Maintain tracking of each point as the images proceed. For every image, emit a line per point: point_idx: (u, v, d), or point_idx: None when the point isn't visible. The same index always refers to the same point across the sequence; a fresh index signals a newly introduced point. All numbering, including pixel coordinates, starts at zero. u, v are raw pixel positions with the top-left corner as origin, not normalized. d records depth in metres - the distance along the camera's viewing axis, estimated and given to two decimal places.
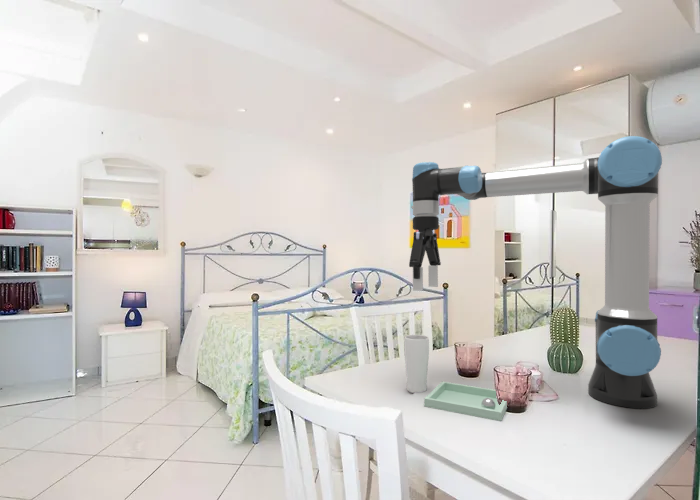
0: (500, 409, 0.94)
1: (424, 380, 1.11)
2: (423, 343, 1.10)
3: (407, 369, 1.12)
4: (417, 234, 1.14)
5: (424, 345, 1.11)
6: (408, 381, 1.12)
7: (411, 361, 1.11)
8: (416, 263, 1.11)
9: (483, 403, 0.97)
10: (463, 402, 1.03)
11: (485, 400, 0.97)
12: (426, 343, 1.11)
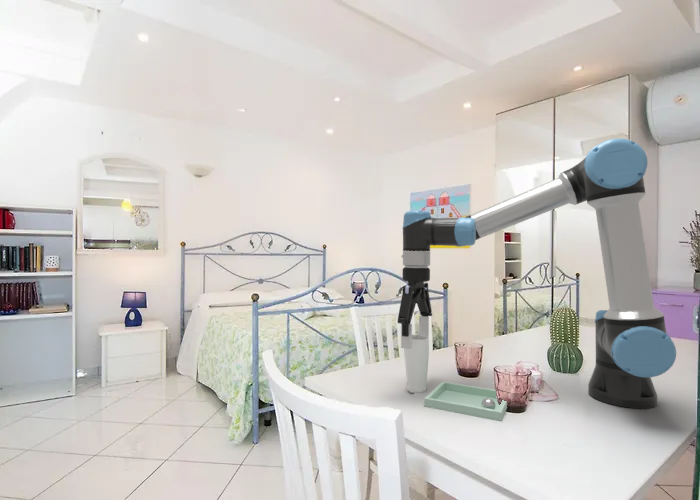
0: (500, 409, 0.94)
1: (424, 380, 1.11)
2: (423, 343, 1.10)
3: (407, 369, 1.12)
4: (406, 288, 1.07)
5: (424, 345, 1.11)
6: (408, 381, 1.12)
7: (411, 361, 1.11)
8: (405, 321, 1.04)
9: (483, 403, 0.97)
10: (463, 402, 1.03)
11: (485, 400, 0.97)
12: (426, 343, 1.11)
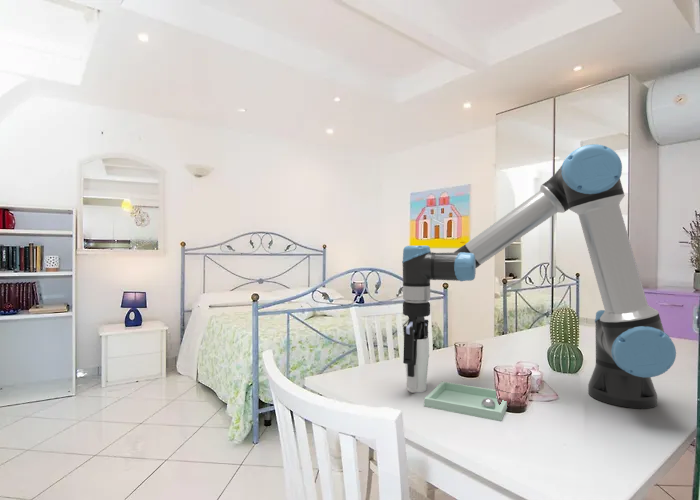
0: (500, 409, 0.94)
1: (424, 380, 1.11)
2: (423, 343, 1.10)
3: None
4: (407, 330, 1.08)
5: (424, 345, 1.11)
6: None
7: None
8: (410, 362, 1.07)
9: (483, 403, 0.97)
10: (463, 402, 1.03)
11: (485, 400, 0.97)
12: (426, 343, 1.11)
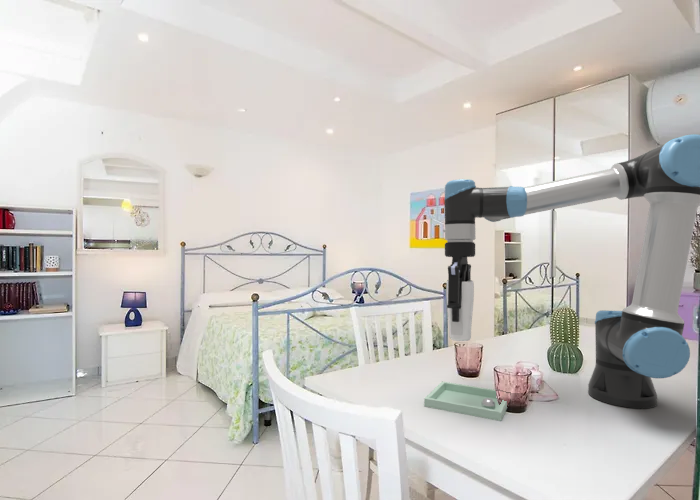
0: (500, 409, 0.94)
1: (469, 326, 1.02)
2: (468, 285, 1.01)
3: (450, 315, 1.03)
4: (452, 270, 0.98)
5: (470, 288, 1.01)
6: None
7: None
8: (456, 305, 0.98)
9: (483, 403, 0.97)
10: (463, 402, 1.03)
11: (485, 400, 0.97)
12: (472, 286, 1.02)
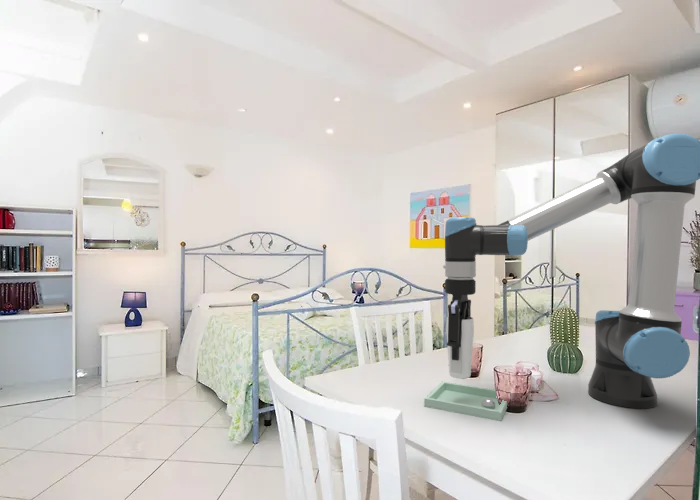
0: (500, 409, 0.94)
1: (469, 364, 1.02)
2: (468, 323, 1.01)
3: (450, 352, 1.03)
4: (452, 309, 0.98)
5: (470, 326, 1.01)
6: None
7: None
8: (456, 344, 0.98)
9: (483, 403, 0.97)
10: (463, 402, 1.03)
11: (485, 400, 0.97)
12: (472, 324, 1.02)
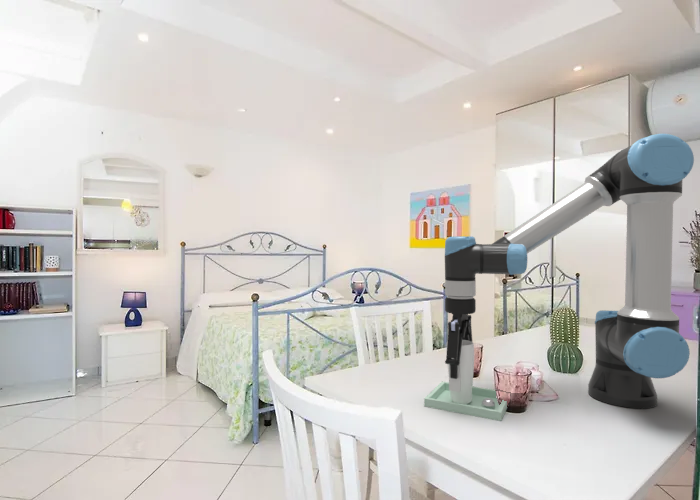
0: (500, 409, 0.94)
1: (470, 389, 1.02)
2: (468, 349, 1.01)
3: None
4: (452, 325, 0.98)
5: (470, 352, 1.01)
6: (452, 391, 1.03)
7: None
8: (454, 362, 0.96)
9: (483, 403, 0.97)
10: None
11: (485, 400, 0.97)
12: (472, 349, 1.01)
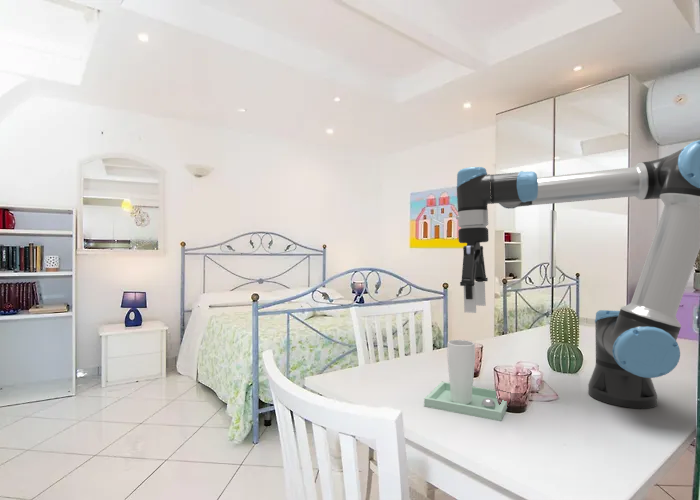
0: (500, 409, 0.94)
1: (470, 390, 1.02)
2: (469, 349, 1.01)
3: (451, 377, 1.03)
4: (468, 248, 1.01)
5: (471, 352, 1.01)
6: (452, 390, 1.03)
7: (456, 368, 1.01)
8: (470, 282, 0.98)
9: (483, 403, 0.97)
10: None
11: (485, 400, 0.97)
12: (473, 350, 1.01)
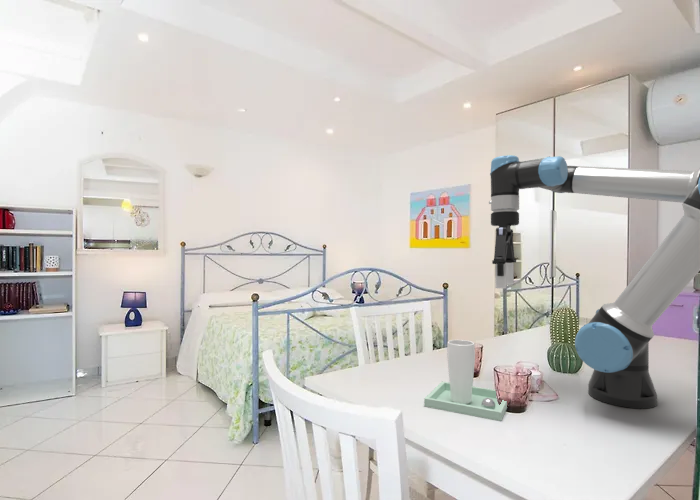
0: (500, 409, 0.94)
1: (470, 389, 1.02)
2: (469, 349, 1.01)
3: (451, 377, 1.03)
4: (500, 230, 1.10)
5: (471, 351, 1.01)
6: (452, 390, 1.03)
7: (456, 368, 1.01)
8: (502, 260, 1.07)
9: (483, 403, 0.97)
10: None
11: (485, 400, 0.97)
12: (472, 349, 1.02)
